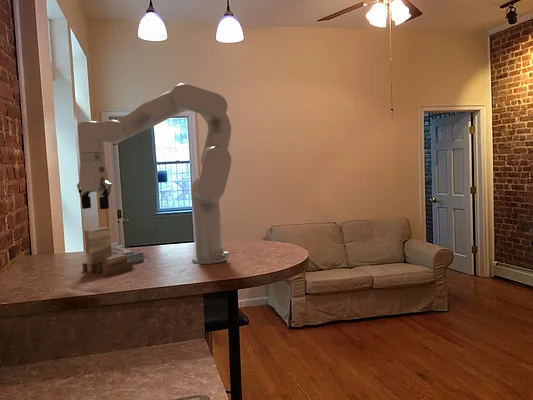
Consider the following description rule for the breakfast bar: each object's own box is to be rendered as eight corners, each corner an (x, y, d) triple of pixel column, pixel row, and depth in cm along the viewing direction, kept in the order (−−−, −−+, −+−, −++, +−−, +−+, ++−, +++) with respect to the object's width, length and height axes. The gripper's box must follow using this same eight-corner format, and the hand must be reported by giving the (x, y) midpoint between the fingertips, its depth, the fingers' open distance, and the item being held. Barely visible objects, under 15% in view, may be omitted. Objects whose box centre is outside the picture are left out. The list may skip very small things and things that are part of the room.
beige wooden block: (112, 267, 162) (109, 227, 161) (93, 272, 155) (90, 230, 154) (107, 266, 163) (104, 227, 162) (87, 271, 157) (84, 230, 156)
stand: (149, 263, 171) (148, 251, 171) (125, 269, 162) (124, 257, 162) (132, 261, 176) (132, 250, 176) (108, 267, 167) (107, 255, 167)
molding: (153, 261, 179) (153, 253, 179) (122, 265, 172) (121, 258, 172) (121, 247, 214) (120, 241, 214) (94, 250, 207) (93, 244, 207)
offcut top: (127, 262, 157) (126, 255, 156) (109, 266, 151) (108, 259, 151) (120, 261, 159) (119, 254, 158) (102, 265, 153) (102, 258, 152)
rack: (135, 272, 158) (134, 260, 157) (108, 279, 148) (108, 267, 148) (107, 268, 166) (106, 257, 166) (80, 275, 157) (79, 263, 156)
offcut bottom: (128, 269, 157) (128, 262, 157) (108, 274, 151) (108, 267, 150) (121, 268, 159) (121, 261, 159) (102, 273, 152) (101, 266, 152)
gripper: (117, 157, 155) (121, 208, 156) (85, 159, 164) (89, 207, 166) (98, 157, 149) (102, 210, 150) (66, 159, 158) (70, 209, 159)
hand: (95, 208), depth 158 cm, fingers open, 9 cm apart
